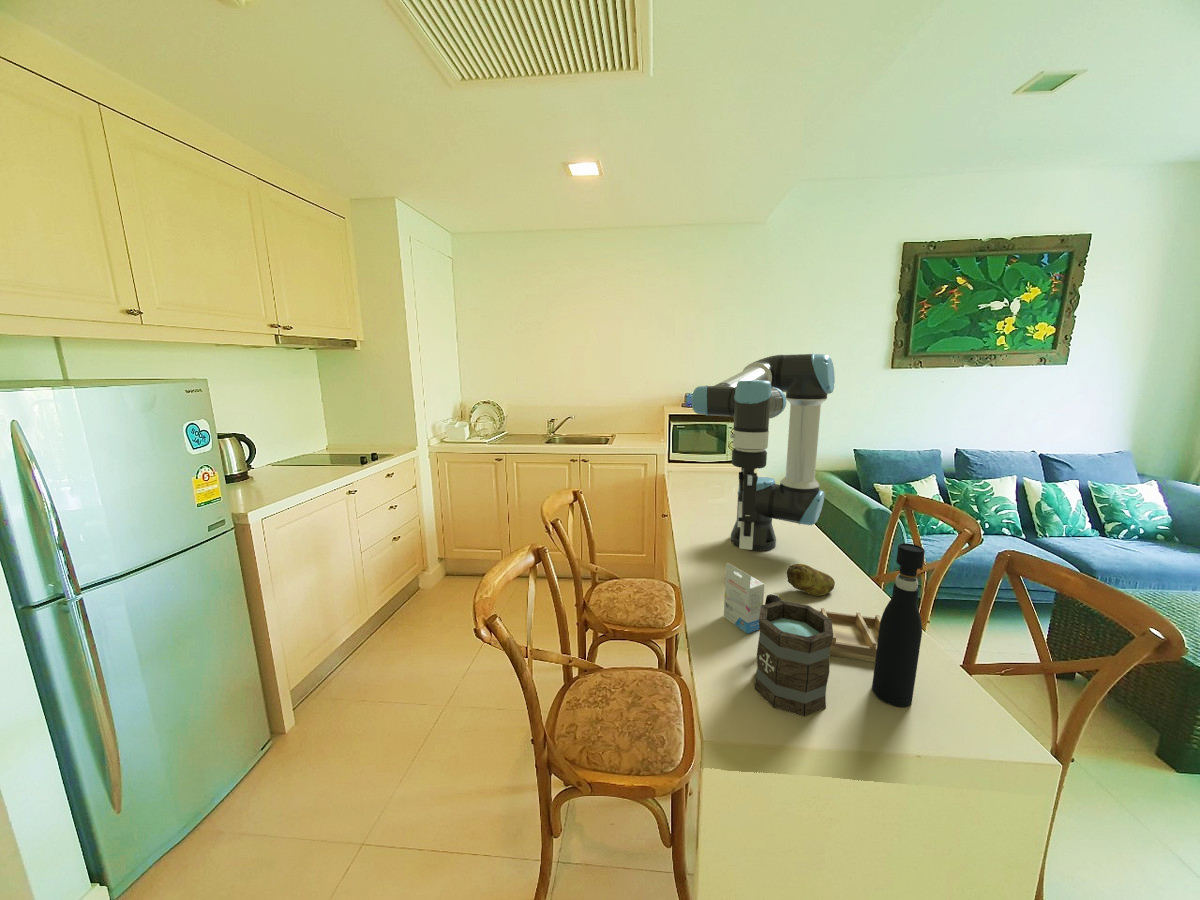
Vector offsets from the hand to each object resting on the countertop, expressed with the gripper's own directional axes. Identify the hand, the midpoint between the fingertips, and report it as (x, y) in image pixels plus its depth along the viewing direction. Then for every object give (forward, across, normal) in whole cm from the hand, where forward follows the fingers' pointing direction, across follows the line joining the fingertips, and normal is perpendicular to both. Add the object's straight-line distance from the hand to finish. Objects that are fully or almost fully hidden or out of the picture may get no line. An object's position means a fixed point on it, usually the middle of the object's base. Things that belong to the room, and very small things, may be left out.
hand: (744, 537), depth 103 cm
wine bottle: (+22, +18, +27) cm, 39 cm away
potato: (+22, -20, +19) cm, 35 cm away
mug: (+22, +18, +8) cm, 30 cm away
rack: (+22, +2, +21) cm, 31 cm away
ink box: (+22, 0, +1) cm, 22 cm away
